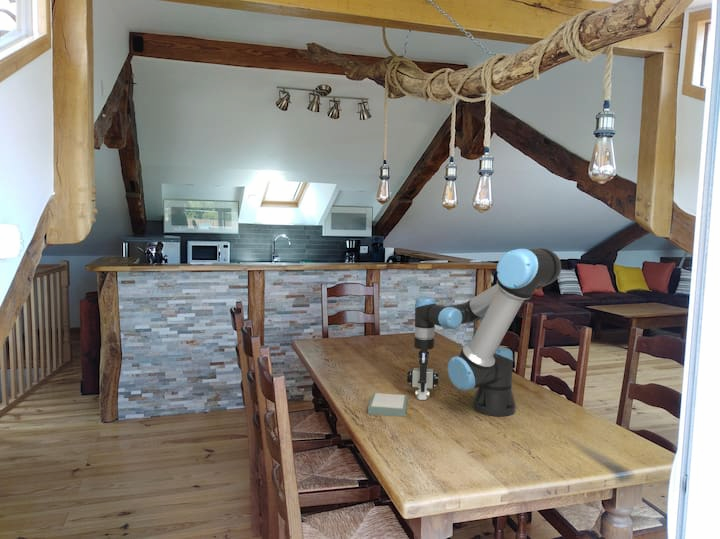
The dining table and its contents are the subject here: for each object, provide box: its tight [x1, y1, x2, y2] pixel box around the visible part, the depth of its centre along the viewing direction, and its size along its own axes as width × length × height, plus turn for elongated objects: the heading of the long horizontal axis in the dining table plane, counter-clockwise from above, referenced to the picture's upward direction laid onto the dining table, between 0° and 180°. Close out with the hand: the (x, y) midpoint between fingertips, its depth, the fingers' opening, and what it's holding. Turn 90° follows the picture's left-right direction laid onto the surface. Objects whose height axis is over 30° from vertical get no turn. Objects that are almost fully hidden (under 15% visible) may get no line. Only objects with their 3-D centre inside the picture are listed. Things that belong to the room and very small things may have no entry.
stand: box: [367, 392, 409, 418], centre depth 187 cm, size 13×15×3 cm
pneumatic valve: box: [406, 367, 440, 400], centre depth 198 cm, size 6×12×12 cm, turn 78°
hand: (422, 396), depth 198 cm, fingers closed on pneumatic valve, 5 cm apart
